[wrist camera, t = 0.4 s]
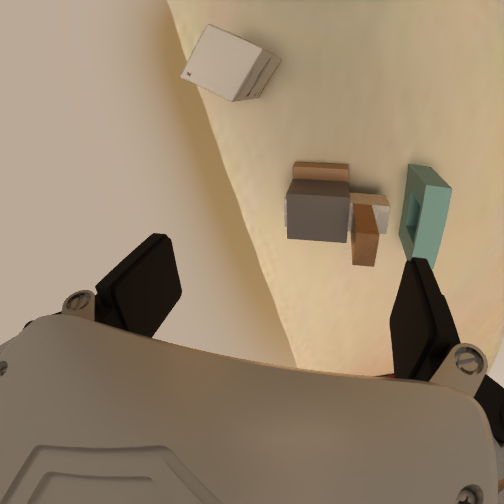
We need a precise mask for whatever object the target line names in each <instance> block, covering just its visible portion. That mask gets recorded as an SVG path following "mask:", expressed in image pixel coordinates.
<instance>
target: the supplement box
mask: <svg viewBox="0 0 504 504" xmlns="http://www.w3.org/2000/svg"><path fill="white" fill-rule="evenodd" d="M281 60H282V59H281V58H279V57H277V56H275V55H273V54H271V53H270V52H268V51H266V50H264V49H263V48H261V47H259V46H257V45H255V44H253V43H251V42H249V41H247V40H245V39H243V38H241V37H239V36H237V35H234V34H232V33H230V32H228V31H225V30H223V29H220V28H218V27H216V26H213V25H211V24H208V25H207V26H206V28H205V30H204V31H203V33H202V35H201V37H200V39H199V41H198V42H197V44H196V46H195V48H194V50H193V51H192V53H191V56H190V58H189V60H188V62H187V64H186V66H185V68H184V70H183V72H182V74H181V76H180V77H181V78H183V79H185V80H187V81H189V82H192V83H194V84H196V85H198V86H200V87H202V88H204V89H207V90H209V91H211V92H213V93H215V94H217V95H219V96H221V97H223V98H224V99H226V100H228V101H230V102H233V101H240V100H247V99H255V98H259V96H260V94H261V92H262V90H263V88H264V87H265V85H266V83H267V82H268V80H269V78H270V77H271V75H272V74H273V72H274V71H275V69H276V68H277V66H278V65H279V63H280V62H281Z"/></svg>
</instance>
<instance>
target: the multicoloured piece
mask: <svg viewBox="0 0 504 504" xmlns="http://www.w3.org/2000/svg"><path fill="white" fill-rule="evenodd" d="M284 209H285V226H287V201H286V196H285V199H284ZM389 211H390V205H389V203H388V200H387V198H386V196H384V195H374V194H362V193H350V208H349V220H348V231H351V246H352V265H361V266H373V267H374V264H375V258H376V253H377V247H378V240H379V233H380V234H386V232H387V225H388V218H389Z"/></svg>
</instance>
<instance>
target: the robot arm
mask: <svg viewBox="0 0 504 504" xmlns="http://www.w3.org/2000/svg"><path fill="white" fill-rule="evenodd" d="M95 288H96V290H97V294H96V295H94V293H93V292H92V291H89V290H82V291H78V292H75V293H73V294H72V295H70V296H69V297H68V298H67V299H66V300H65V301H64V304H63V307H62V311H61V312H58V313H55V314H52V315H47V316H42V317H39V318H37V319H36V320H34V321H30V322H28V323H27V324H26V325H25V327H24V328H23V330H22V331H21V332H20V333H19V334H18V335H17V336H16V337H14V338H12V339H11V340H9V341H7V342H5V343H4V344H2V345H1V346H0V504H504V388H503V387H502V386H500V385H499V384H498V383H497V382H495V381H494V380H493V379H491V378H490V377H489V376H488V375H486V372H487V368H488V363H487V359H486V356H485V355H484V353H483V352H482V351H481V350H480V349H479V348H478V347H476V346H474V345H472V344H468V343H460V339H459V336H458V333H457V330H456V327H455V324H454V321H453V318H452V315H451V312H450V310H449V307H448V304H447V301H446V299H445V297H444V295H442V294H441V292H440V289H439V287H438V284H437V282H436V279H435V277H434V274H433V272H432V269H431V267H430V265H429V262H428V260H427V259H426V258H418V257H412V258H411V261H409V260H407V261H406V264H405V268H404V271H403V275H402V279H401V283H400V286H399V290H398V293H397V296H396V300H395V303H394V306H393V310H392V313H391V316H390V332H391V341H392V351H393V362H394V376H395V378H385V377H373V376H360V375H350V374H341V373H331V372H322V371H314V370H306V369H299V368H292V367H285V366H278V365H273V364H267V363H261V362H255V361H250V360H244V359H239V358H234V357H229V356H224V355H219V354H214V353H210V352H206V351H201V350H197V349H193V348H188V347H184V346H180V345H176V344H172V343H168V342H164V341H161V340H157V339H153V338H152V337H153V335H154V334H155V332H156V331H157V329H158V328H159V327H160V325H161V324H162V322H163V321H164V320H165V318H166V317H167V315H168V314H169V312H170V311H171V310H172V308H173V307H174V306H175V304H176V302H177V301H178V300H179V299H180V297H181V294H182V289H181V284H180V280H179V275H178V271H177V266H176V261H175V256H174V252H173V246H172V242H171V239H170V238H168V236H167V235H166V234H157V233H153V234H152V235H151V236H149V237H148V238H147V239H146V240H145V241H144V242H142V243H141V244H140V245H139V246H138V247H137V248H136V249H135V250H133V251H132V252H131V253H130V254H129V255H128V256H127V257H126V258H125V259H123V260H122V261H121V262H120V263H119V264H118V265H117V266H116V267H115V268H114V269H113V270H112V271H110V272H109V274H107V275H106V276H105V277H104V278H103V279H102V280H101V281H100V282H99V283H98V284H97V285H96V286H95Z"/></svg>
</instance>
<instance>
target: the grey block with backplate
mask: <svg viewBox="0 0 504 504" xmlns="http://www.w3.org/2000/svg"><path fill="white" fill-rule="evenodd" d="M348 175H349V168H348V165H346V164H330V163H309V162H295V164H294V166H293V180H292V182H291V185H290V187H289V189H288V191H287V194H286V201H287V239H300V240H314V241H327V242H340V243H346V242H347V231H348V220H349V208H350V192H349V184H348Z"/></svg>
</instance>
